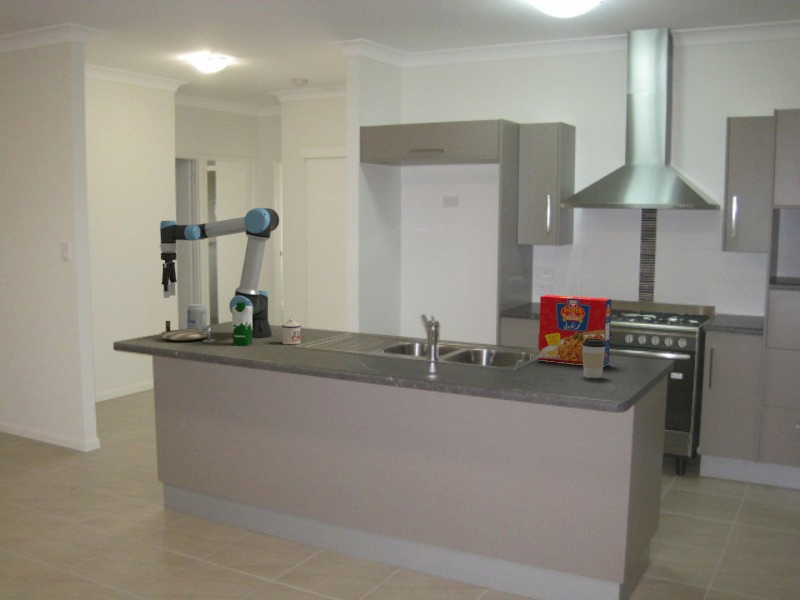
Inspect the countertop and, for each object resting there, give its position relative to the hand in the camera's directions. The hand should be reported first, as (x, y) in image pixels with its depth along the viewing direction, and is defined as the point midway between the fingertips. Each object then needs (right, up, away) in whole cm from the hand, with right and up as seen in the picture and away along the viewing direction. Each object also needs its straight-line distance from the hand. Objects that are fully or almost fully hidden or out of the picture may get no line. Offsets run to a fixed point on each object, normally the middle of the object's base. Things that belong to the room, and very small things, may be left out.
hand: (169, 296), depth 405 cm
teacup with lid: (+63, -22, -15) cm, 69 cm away
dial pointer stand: (+22, -22, -13) cm, 34 cm away
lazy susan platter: (+10, -19, -8) cm, 23 cm away
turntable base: (+10, -21, -8) cm, 24 cm away
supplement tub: (+10, -19, +14) cm, 25 cm away
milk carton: (+40, -23, -20) cm, 50 cm away
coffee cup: (+189, -32, -89) cm, 211 cm away
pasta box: (+188, -29, -60) cm, 199 cm away
